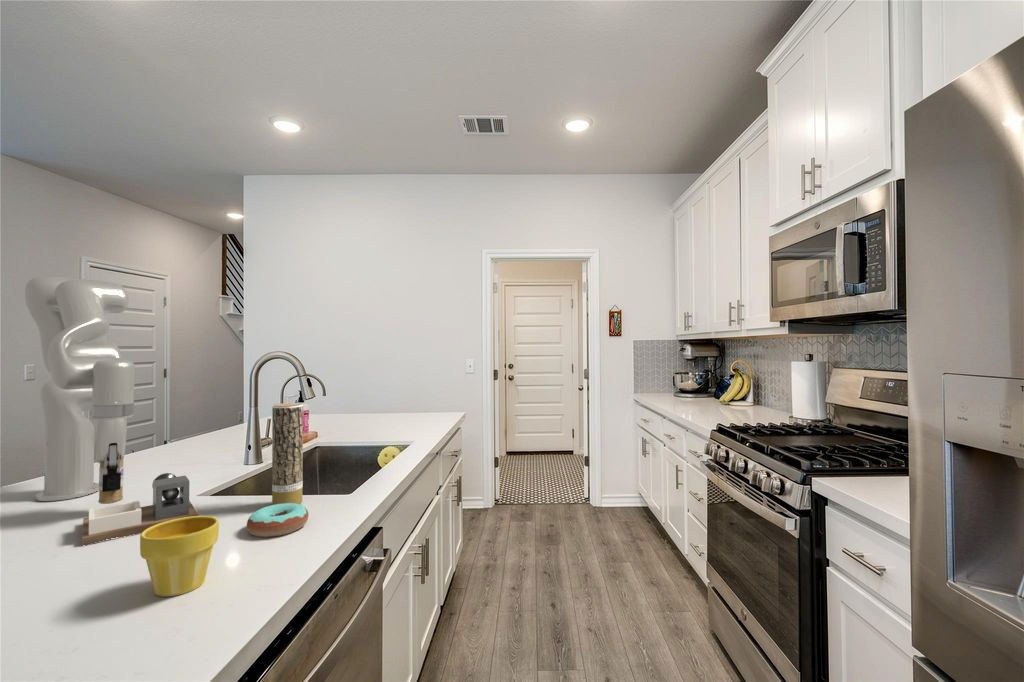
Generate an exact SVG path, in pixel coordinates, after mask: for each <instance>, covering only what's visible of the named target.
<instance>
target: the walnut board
mask: <svg viewBox="0 0 1024 682" xmlns="http://www.w3.org/2000/svg"><path fill="white" fill-rule="evenodd" d="M140 507H141V524H139V525H135V526H130V527H125V528H120V529H116V530H111V531H106V532H101V533H96V534H92V535H89V516H85V517H83V520H82V521H83V522H82V544H81V545H82V547H84V546H83V545H85V546H88V544H90V545H92V544H91V543H94V544H96V543H95V542H99V541H103V540H106V539H111V538H116V537H122V538H125V537H124V536H126V537H130V536H129V535H131V536H134V535H133V534H135V535H139V534H138V533H140V534H141V533H142V532H143V531H144V530H146V529H148V528H150V527H152V526H154V525H157V524H159V523H162V522H166V521H170V520H174V519H178V518H184V517H192V516H199V513H198V511H197V510H196V508H195V506H194V505H193V504H192V502H191V501H190V500H189V514H187V515H182V516H177V517H172V518H168V519H163V520H158V521H155V518H154V516H153V504H149V505H146V506H140ZM99 543H100V542H99Z"/></svg>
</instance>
